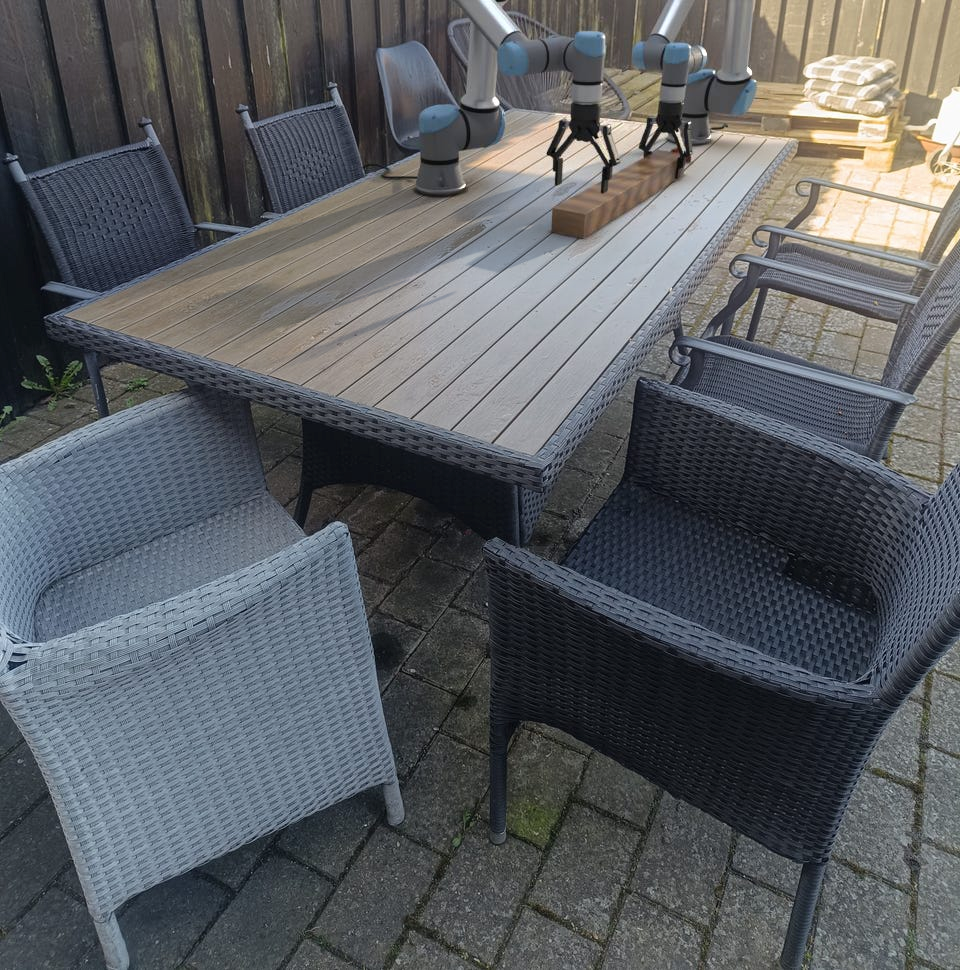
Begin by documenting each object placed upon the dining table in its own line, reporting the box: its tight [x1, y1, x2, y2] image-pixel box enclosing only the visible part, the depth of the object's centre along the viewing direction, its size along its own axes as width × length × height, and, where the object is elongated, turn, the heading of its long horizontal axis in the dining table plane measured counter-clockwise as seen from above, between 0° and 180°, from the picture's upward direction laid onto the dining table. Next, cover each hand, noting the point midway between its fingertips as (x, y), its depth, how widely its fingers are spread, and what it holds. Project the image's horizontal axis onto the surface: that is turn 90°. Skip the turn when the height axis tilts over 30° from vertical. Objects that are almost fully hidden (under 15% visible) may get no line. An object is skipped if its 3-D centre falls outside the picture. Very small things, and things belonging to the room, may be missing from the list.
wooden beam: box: [550, 149, 686, 239], centre depth 248 cm, size 71×10×6 cm, turn 147°
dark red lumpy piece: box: [669, 147, 692, 163], centre depth 284 cm, size 6×4×8 cm
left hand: (580, 188), depth 223 cm, fingers open, 13 cm apart
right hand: (662, 175), depth 269 cm, fingers closed on wooden beam, 10 cm apart
